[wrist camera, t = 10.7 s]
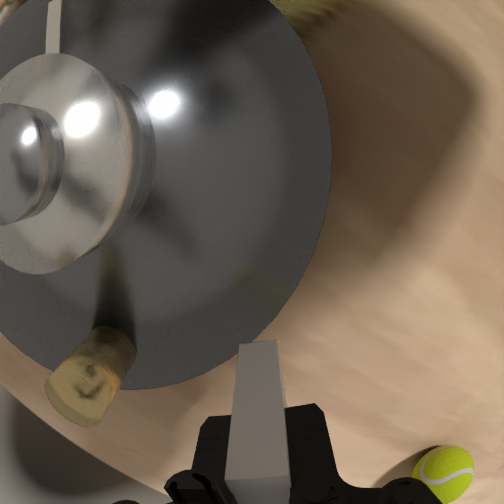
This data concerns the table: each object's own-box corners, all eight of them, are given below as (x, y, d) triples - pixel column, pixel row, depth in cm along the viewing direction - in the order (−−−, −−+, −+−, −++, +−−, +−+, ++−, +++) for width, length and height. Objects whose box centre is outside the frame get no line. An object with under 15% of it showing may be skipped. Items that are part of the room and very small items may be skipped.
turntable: (-42, 71, 13) (-99, 63, 6) (270, -64, 11) (273, -137, 4) (14, 368, 19) (-32, 414, 12) (345, 347, 18) (381, 428, 11)
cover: (10, 110, 12) (-59, 102, 7) (145, 51, 12) (91, 1, 6) (31, 260, 15) (-35, 294, 9) (171, 235, 14) (122, 273, 9)
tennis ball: (456, 421, 22) (484, 467, 15) (460, 450, 23) (483, 490, 17) (396, 456, 23) (416, 507, 16) (408, 480, 24) (425, 523, 18)
